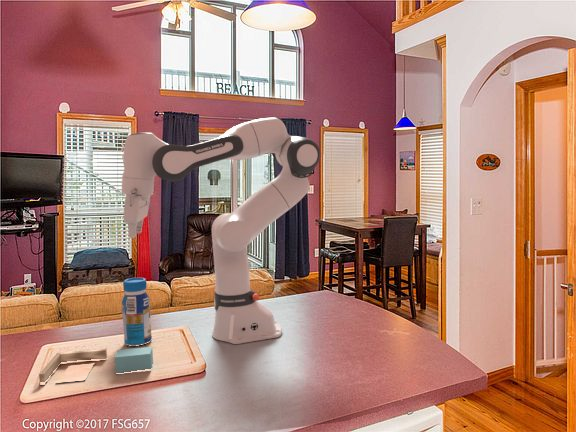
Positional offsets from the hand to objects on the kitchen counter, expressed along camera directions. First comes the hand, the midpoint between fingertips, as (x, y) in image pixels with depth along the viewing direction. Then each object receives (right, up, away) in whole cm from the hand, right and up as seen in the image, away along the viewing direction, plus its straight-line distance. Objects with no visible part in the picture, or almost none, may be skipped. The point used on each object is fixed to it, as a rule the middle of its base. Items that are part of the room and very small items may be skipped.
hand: (135, 235), depth 129 cm
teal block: (+4, -36, -11) cm, 38 cm away
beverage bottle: (-2, -34, +9) cm, 35 cm away
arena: (-12, -36, -11) cm, 40 cm away
